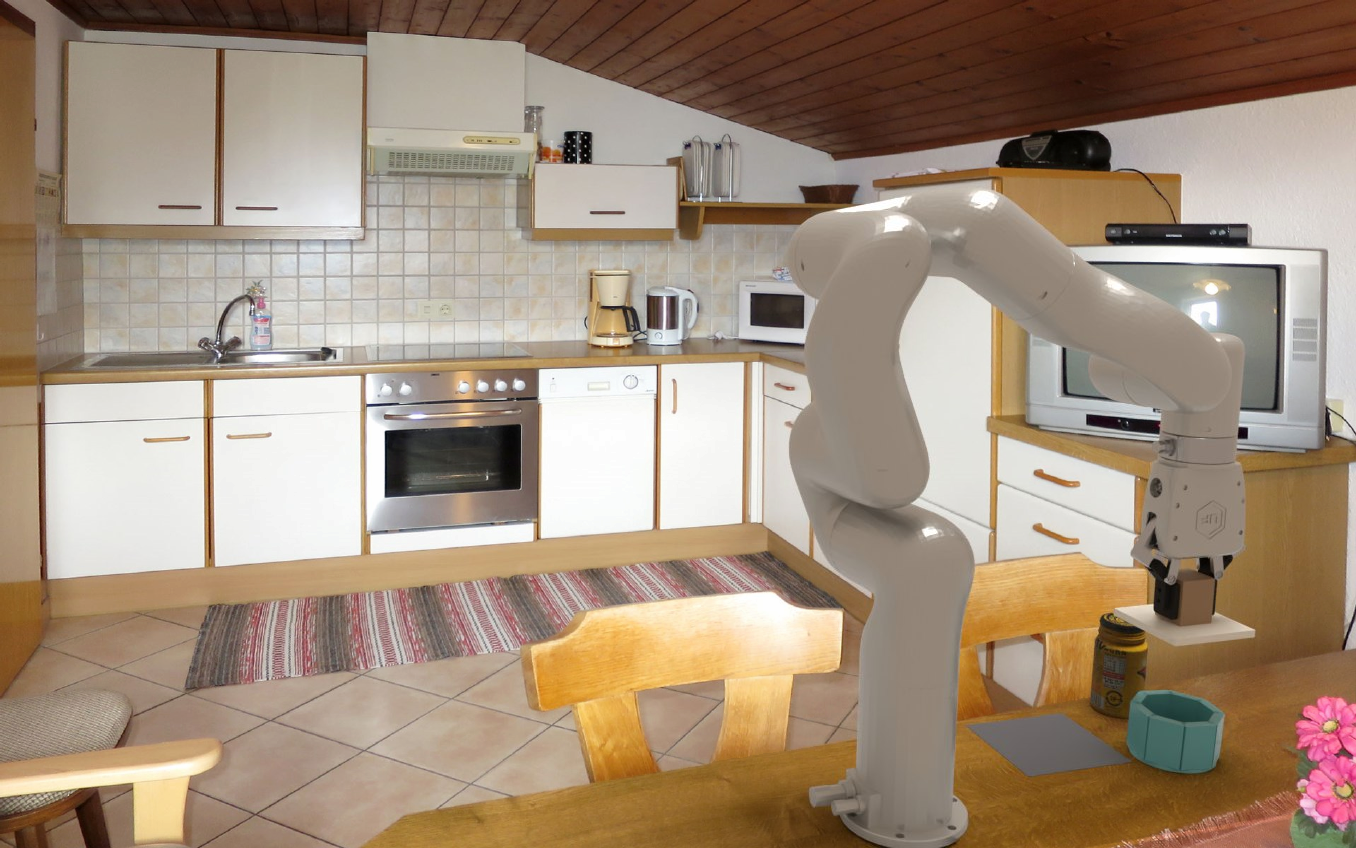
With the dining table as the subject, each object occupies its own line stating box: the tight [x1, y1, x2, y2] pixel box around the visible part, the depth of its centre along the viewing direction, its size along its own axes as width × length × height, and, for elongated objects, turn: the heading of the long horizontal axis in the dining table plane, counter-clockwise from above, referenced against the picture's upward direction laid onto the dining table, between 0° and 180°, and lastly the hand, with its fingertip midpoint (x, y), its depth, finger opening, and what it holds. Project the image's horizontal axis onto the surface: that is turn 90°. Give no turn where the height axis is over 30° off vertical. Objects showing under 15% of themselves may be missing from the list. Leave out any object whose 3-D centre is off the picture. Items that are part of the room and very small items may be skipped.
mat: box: [965, 712, 1133, 778], centre depth 126 cm, size 13×13×1 cm
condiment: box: [1089, 612, 1149, 719], centre depth 134 cm, size 7×8×12 cm
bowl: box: [1125, 689, 1225, 774], centre depth 123 cm, size 9×9×6 cm
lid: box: [1113, 567, 1256, 647], centre depth 121 cm, size 10×10×6 cm
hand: (1183, 612), depth 121 cm, fingers closed on lid, 4 cm apart
